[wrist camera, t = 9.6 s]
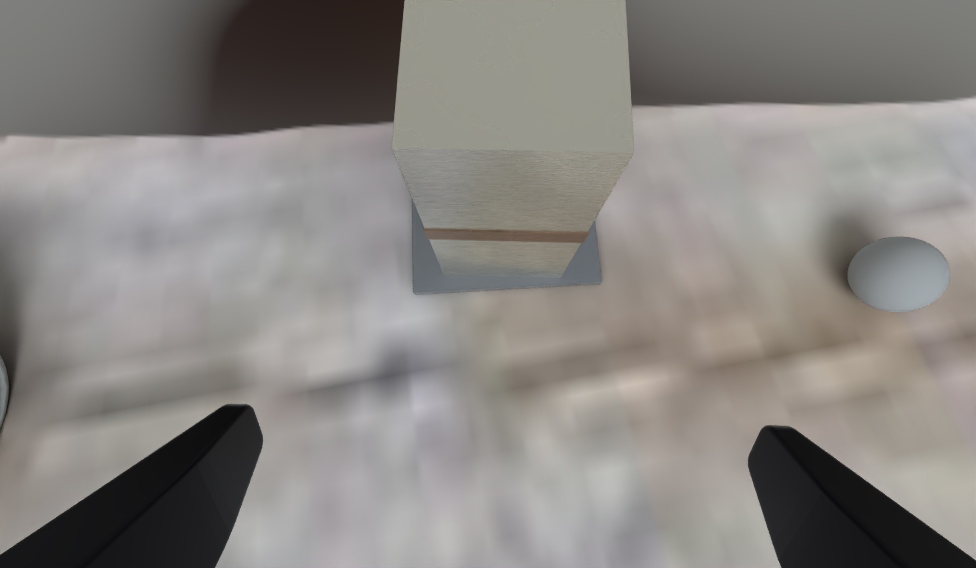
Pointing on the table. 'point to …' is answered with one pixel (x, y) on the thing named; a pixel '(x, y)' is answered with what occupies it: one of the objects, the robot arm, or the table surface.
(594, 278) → the slate mat
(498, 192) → the striped paper box
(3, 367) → the ceramic mug
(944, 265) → the gray ball
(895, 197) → the table surface
